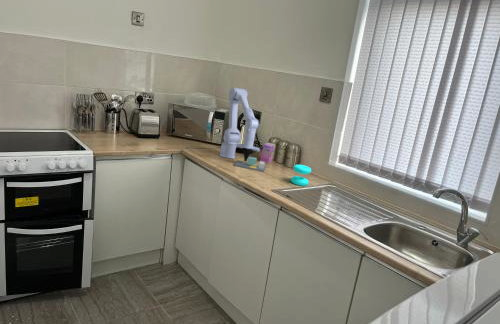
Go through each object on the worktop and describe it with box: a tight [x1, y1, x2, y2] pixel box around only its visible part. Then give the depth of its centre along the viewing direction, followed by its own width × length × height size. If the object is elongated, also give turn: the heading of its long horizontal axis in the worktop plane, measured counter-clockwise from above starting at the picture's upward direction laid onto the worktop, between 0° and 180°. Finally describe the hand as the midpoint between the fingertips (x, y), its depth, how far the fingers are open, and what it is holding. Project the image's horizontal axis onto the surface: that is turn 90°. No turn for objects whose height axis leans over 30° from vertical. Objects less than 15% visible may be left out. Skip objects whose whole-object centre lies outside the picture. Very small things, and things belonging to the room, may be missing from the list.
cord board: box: [234, 160, 267, 173], centre depth 232 cm, size 18×12×4 cm, turn 83°
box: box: [259, 142, 276, 165], centre depth 253 cm, size 10×6×12 cm, turn 161°
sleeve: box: [246, 156, 258, 166], centre depth 231 cm, size 5×5×4 cm
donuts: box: [290, 164, 312, 187], centre depth 214 cm, size 10×10×10 cm
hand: (245, 160), depth 232 cm, fingers closed
